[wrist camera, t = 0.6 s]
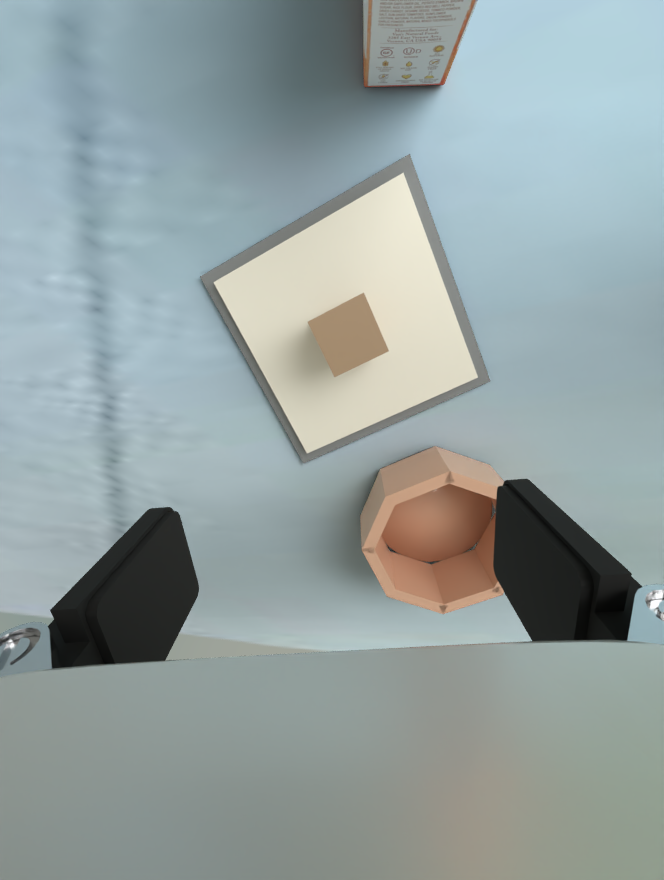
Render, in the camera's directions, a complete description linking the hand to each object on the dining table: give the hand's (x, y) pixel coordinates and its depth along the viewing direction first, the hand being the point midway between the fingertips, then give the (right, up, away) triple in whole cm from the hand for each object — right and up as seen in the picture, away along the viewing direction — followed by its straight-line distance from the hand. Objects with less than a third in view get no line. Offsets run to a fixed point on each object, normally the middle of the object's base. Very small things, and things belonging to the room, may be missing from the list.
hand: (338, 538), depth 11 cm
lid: (+1, +12, +20) cm, 23 cm away
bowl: (+10, -4, +25) cm, 28 cm away
